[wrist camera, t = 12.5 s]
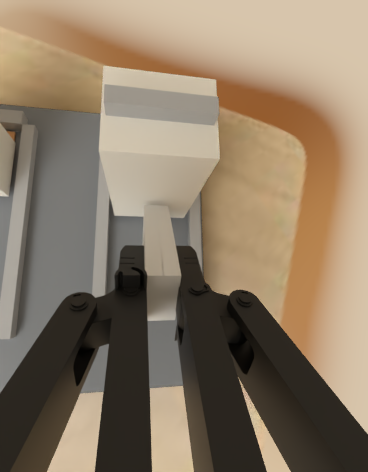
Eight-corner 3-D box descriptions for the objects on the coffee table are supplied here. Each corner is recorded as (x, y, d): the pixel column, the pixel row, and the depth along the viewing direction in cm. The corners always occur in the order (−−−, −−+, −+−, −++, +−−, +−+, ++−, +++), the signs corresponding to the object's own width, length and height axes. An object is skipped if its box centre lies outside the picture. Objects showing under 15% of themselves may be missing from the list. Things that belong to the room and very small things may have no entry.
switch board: (201, 377, 20) (211, 388, 18) (-120, 399, 17) (-163, 417, 14) (194, 133, 24) (201, 115, 22) (-61, 110, 21) (-87, 86, 19)
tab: (183, 217, 20) (225, 149, 11) (114, 215, 20) (95, 138, 10) (182, 168, 21) (221, 65, 12) (116, 164, 20) (101, 49, 11)
